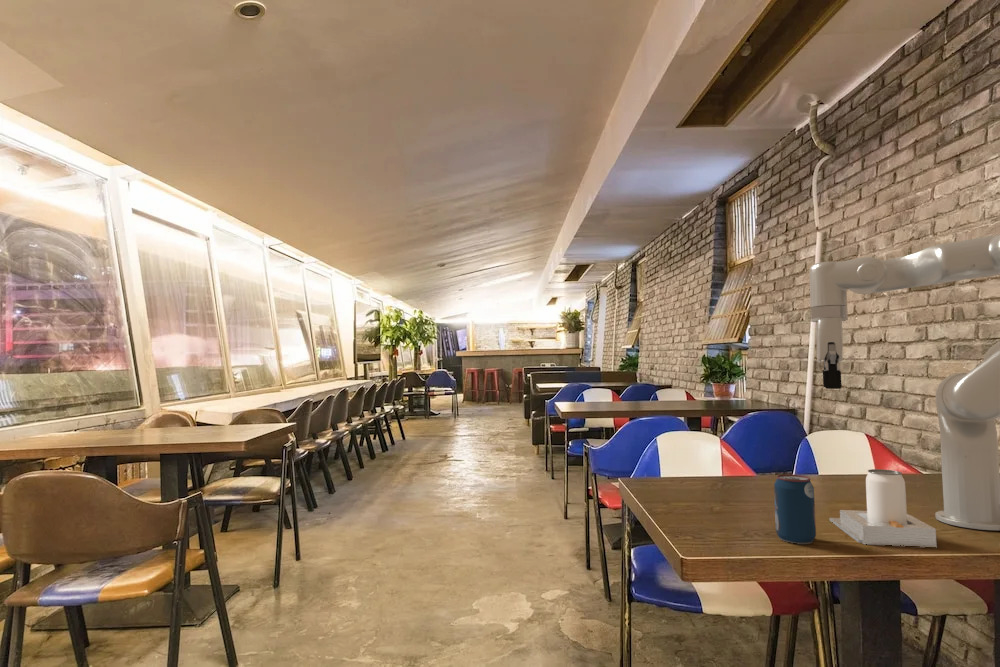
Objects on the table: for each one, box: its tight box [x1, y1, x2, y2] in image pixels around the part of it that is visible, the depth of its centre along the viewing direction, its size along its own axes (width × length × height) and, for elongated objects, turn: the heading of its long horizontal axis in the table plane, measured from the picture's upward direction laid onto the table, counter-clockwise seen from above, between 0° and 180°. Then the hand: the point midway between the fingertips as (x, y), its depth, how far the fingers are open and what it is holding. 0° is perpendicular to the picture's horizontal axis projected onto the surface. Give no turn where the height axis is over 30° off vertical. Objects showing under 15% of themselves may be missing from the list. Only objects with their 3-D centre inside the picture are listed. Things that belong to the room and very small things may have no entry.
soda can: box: [773, 474, 817, 545], centre depth 111 cm, size 7×7×12 cm
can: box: [865, 468, 908, 524], centre depth 113 cm, size 6×6×12 cm
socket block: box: [829, 509, 938, 549], centre depth 115 cm, size 13×17×4 cm
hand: (832, 387), depth 134 cm, fingers open, 9 cm apart
